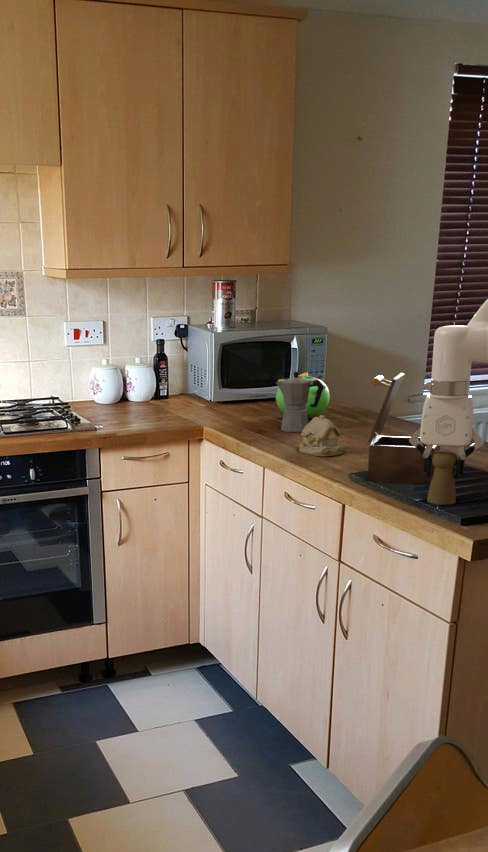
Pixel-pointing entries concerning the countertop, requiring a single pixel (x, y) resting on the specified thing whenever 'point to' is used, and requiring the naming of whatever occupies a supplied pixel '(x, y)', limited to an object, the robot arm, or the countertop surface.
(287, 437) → the countertop surface
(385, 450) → the chest
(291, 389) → the coffeepot
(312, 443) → the ceramic model
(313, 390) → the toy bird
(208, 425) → the countertop surface
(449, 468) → the cork
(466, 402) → the robot arm
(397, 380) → the lid
